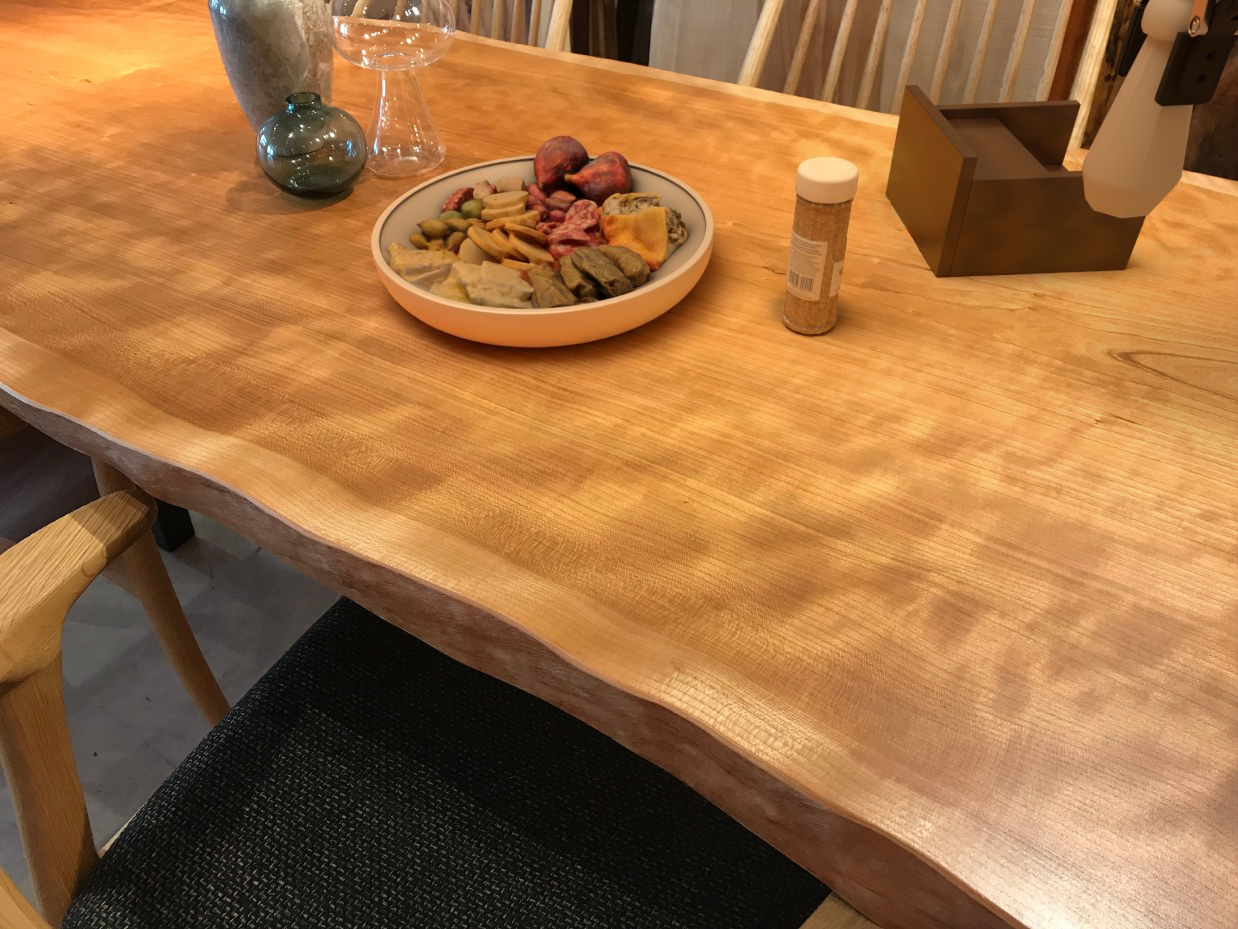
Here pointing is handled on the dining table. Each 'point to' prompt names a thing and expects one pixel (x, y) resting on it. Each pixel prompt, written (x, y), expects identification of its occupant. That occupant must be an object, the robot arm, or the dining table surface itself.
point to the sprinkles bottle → (818, 243)
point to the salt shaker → (1141, 127)
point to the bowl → (544, 247)
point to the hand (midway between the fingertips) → (1160, 85)
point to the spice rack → (999, 190)
